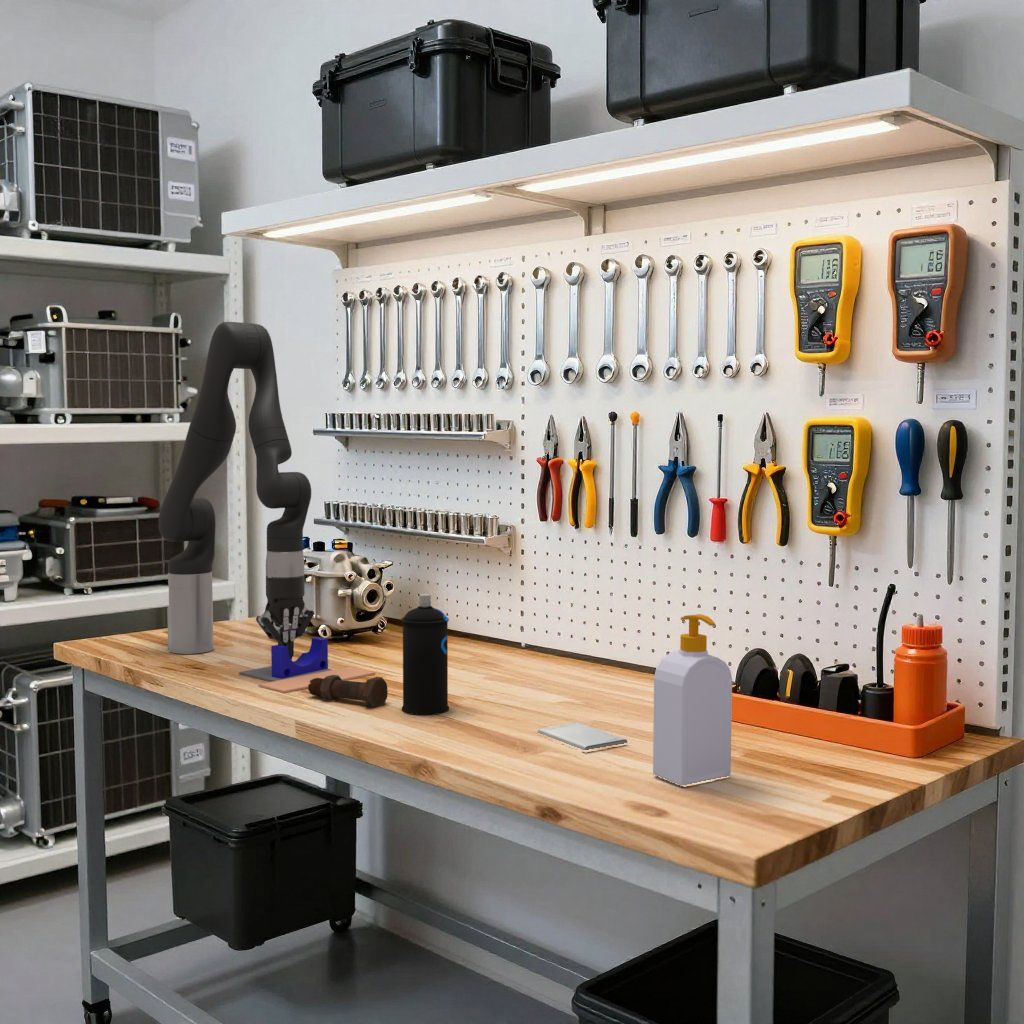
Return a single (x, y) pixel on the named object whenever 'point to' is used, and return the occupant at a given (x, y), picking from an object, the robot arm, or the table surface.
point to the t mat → (301, 677)
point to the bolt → (350, 690)
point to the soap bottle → (692, 711)
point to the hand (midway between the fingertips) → (285, 659)
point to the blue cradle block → (299, 659)
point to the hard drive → (581, 736)
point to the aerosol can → (425, 659)
